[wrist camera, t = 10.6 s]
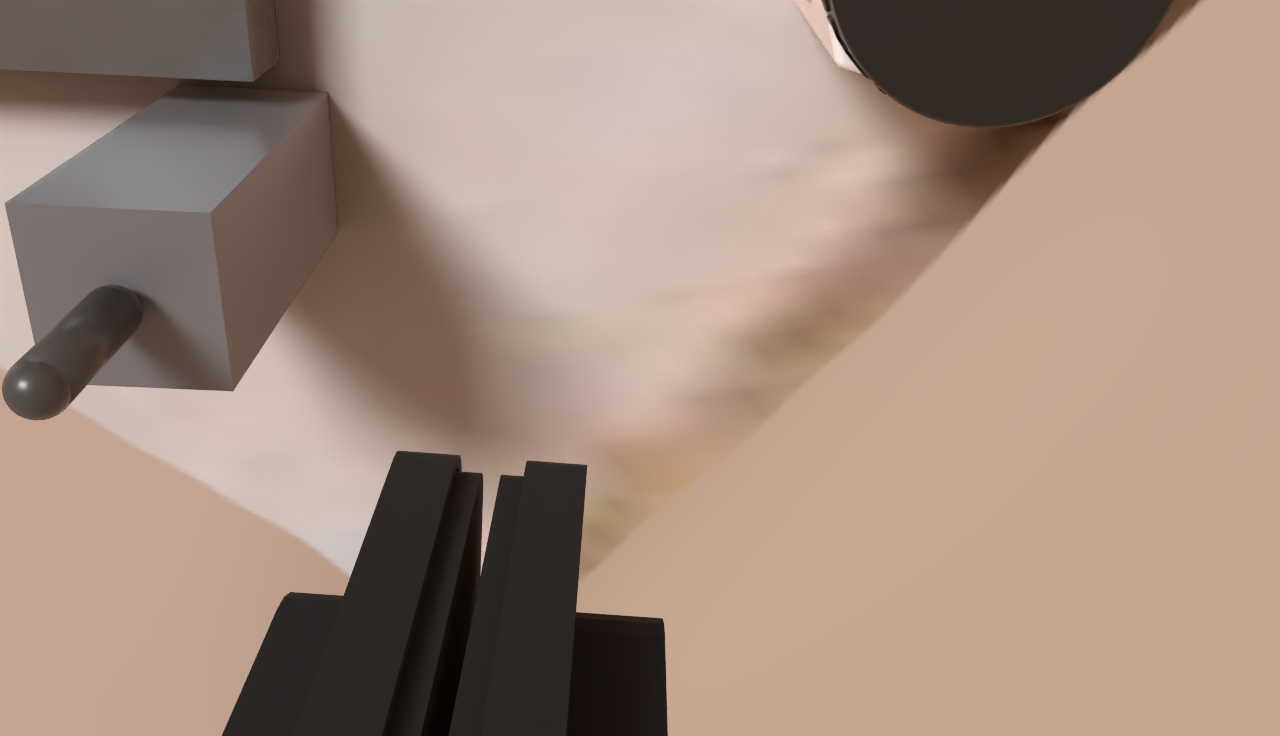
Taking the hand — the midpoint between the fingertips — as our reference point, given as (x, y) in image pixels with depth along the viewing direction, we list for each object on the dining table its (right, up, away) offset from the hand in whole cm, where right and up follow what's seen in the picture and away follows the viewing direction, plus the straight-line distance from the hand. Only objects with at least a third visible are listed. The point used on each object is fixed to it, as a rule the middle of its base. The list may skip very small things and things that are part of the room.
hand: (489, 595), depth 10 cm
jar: (+10, +17, +26) cm, 32 cm away
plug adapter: (-12, +9, +30) cm, 33 cm away
